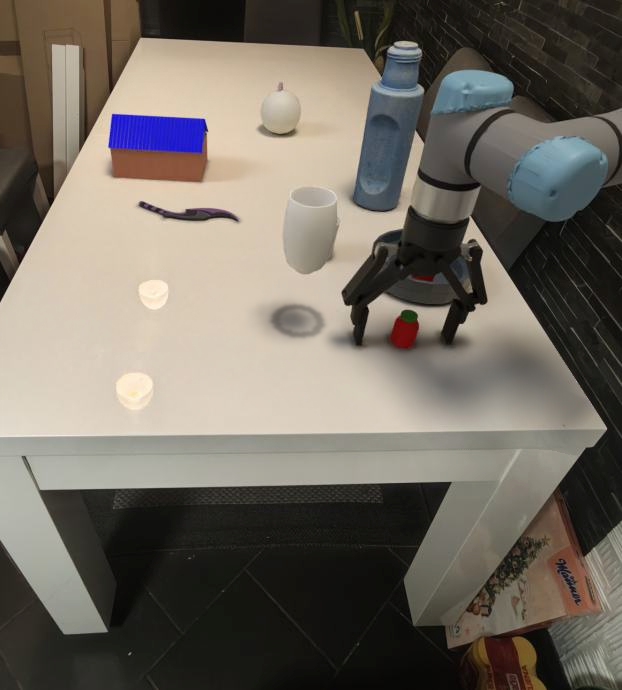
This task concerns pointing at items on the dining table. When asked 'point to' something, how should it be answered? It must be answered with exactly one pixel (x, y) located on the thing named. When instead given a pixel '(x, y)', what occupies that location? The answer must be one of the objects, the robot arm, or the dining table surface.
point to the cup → (309, 228)
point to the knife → (191, 212)
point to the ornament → (280, 111)
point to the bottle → (389, 129)
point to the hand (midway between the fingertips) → (401, 339)
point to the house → (158, 147)
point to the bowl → (421, 289)
